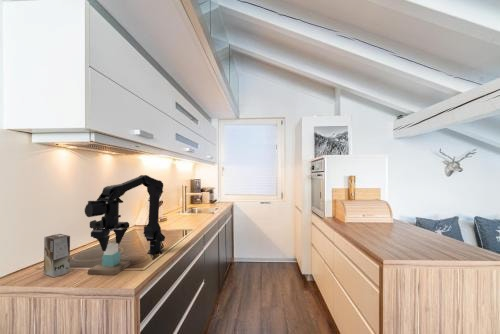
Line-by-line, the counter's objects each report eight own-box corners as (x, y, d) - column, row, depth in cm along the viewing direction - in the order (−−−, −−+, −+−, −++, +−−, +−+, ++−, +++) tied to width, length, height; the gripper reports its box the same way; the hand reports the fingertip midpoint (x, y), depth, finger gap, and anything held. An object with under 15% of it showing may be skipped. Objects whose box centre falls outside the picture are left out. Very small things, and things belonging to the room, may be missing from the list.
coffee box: (70, 272, 105) (71, 235, 105) (53, 277, 99) (53, 239, 100) (59, 268, 109) (60, 233, 109) (42, 273, 103) (43, 236, 104)
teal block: (109, 262, 111) (109, 251, 111) (120, 262, 110) (120, 251, 111) (102, 266, 106) (102, 255, 106) (112, 266, 106) (113, 255, 106)
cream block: (110, 251, 111) (110, 243, 111) (118, 252, 110) (118, 243, 110) (103, 254, 107) (103, 245, 107) (112, 255, 106) (112, 245, 106)
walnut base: (108, 263, 115) (108, 259, 115) (131, 263, 114) (131, 259, 114) (87, 274, 102) (87, 269, 102) (114, 275, 101) (114, 270, 101)
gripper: (108, 210, 119) (108, 241, 118) (78, 217, 100) (78, 254, 100) (130, 210, 118) (129, 242, 117) (103, 217, 99) (103, 254, 99)
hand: (111, 247), depth 108 cm, fingers open, 9 cm apart
